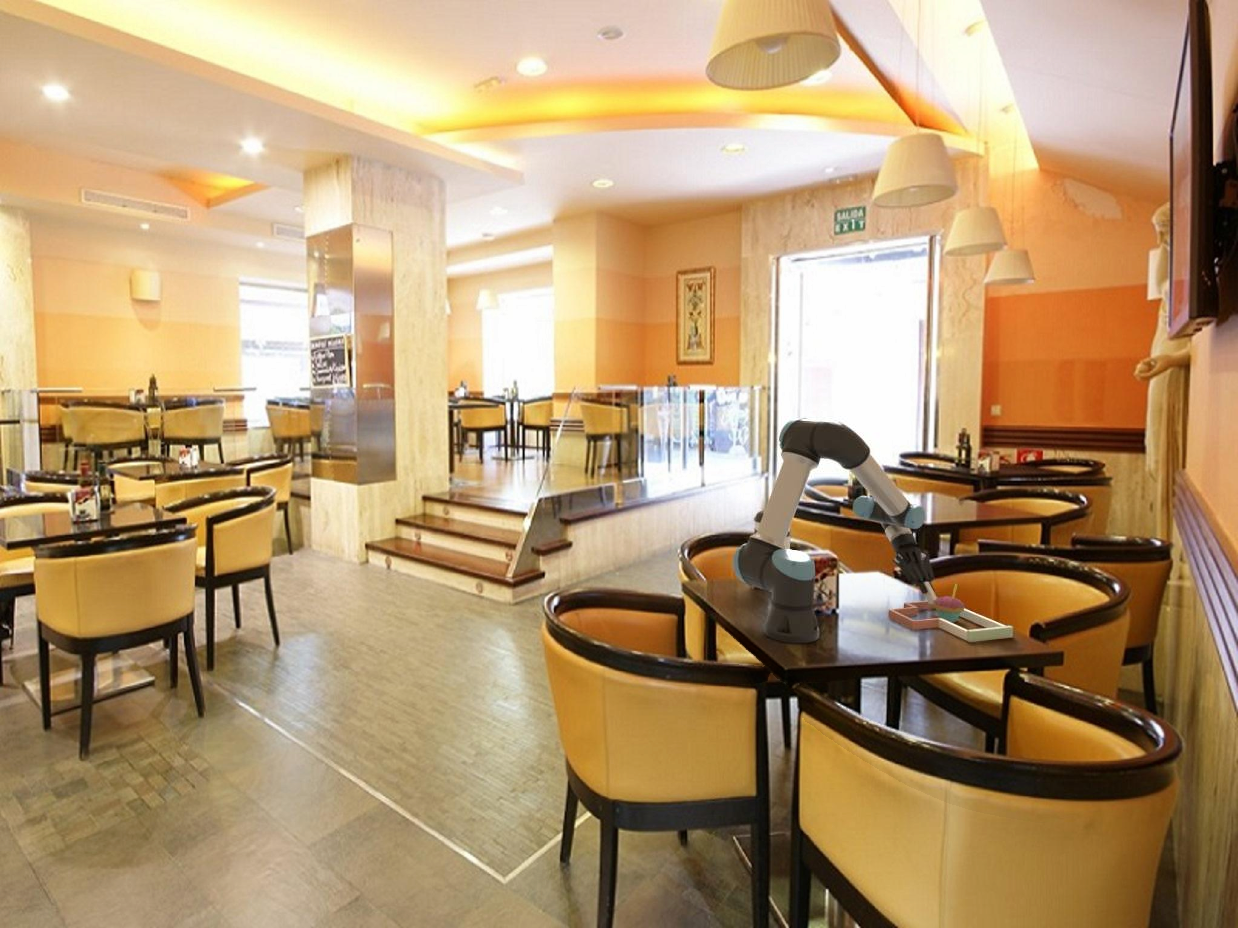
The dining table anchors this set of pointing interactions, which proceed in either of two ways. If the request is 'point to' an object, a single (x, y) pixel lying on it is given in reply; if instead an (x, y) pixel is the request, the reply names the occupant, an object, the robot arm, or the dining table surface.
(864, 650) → the dining table surface
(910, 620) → the track
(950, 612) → the cupcake
